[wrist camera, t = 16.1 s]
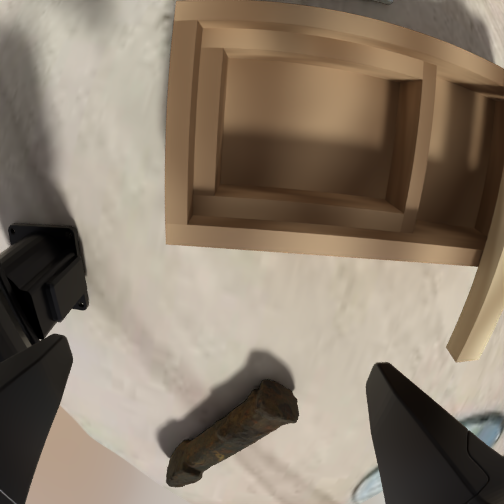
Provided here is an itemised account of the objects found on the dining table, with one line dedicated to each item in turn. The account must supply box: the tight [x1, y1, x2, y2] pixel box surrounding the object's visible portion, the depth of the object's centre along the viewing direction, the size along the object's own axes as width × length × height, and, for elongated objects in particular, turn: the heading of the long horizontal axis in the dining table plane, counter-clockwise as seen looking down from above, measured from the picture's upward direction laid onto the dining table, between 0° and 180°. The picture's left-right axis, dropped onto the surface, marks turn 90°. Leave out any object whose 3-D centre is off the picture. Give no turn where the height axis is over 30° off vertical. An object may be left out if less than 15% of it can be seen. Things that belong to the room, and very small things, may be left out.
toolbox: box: [165, 0, 504, 267], centre depth 15 cm, size 20×11×5 cm, turn 86°
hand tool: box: [166, 379, 299, 487], centre depth 26 cm, size 19×4×5 cm, turn 139°
